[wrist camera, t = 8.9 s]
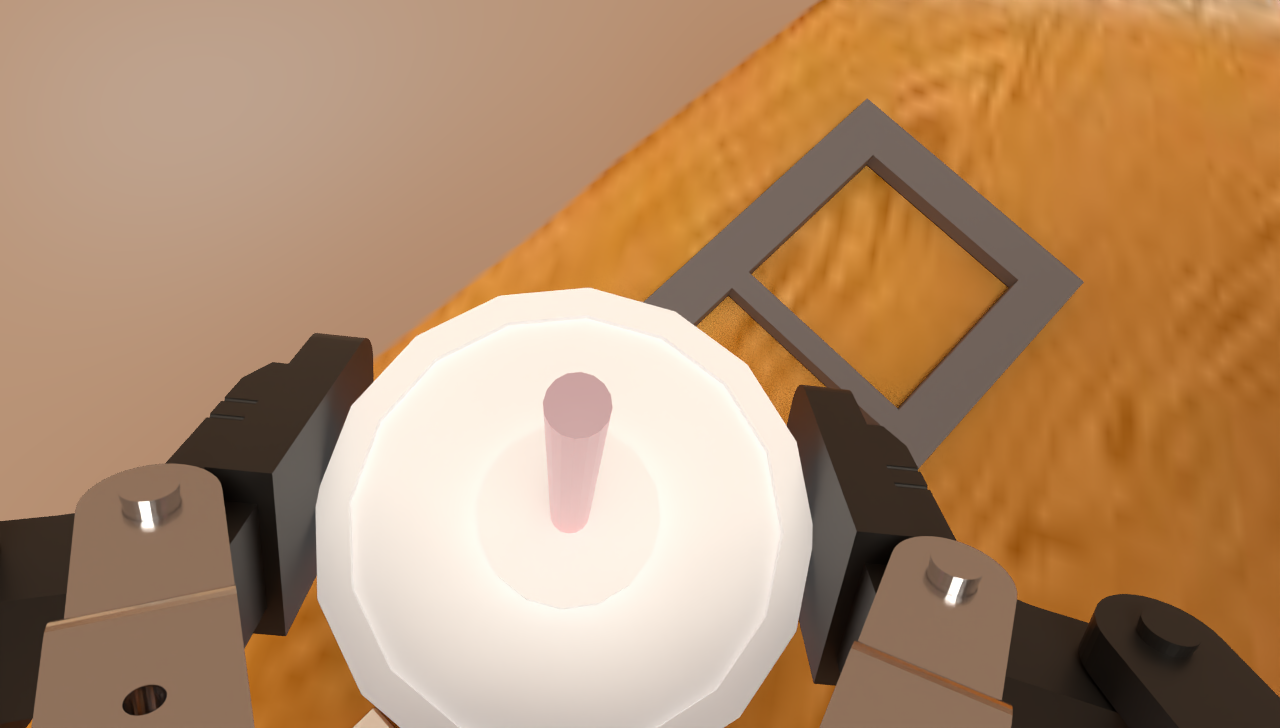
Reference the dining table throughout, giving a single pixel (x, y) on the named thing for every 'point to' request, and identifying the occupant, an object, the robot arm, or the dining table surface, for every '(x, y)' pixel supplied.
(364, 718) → the card
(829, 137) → the grey flat frame
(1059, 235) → the dining table surface
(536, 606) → the beverage cup
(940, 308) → the dining table surface
